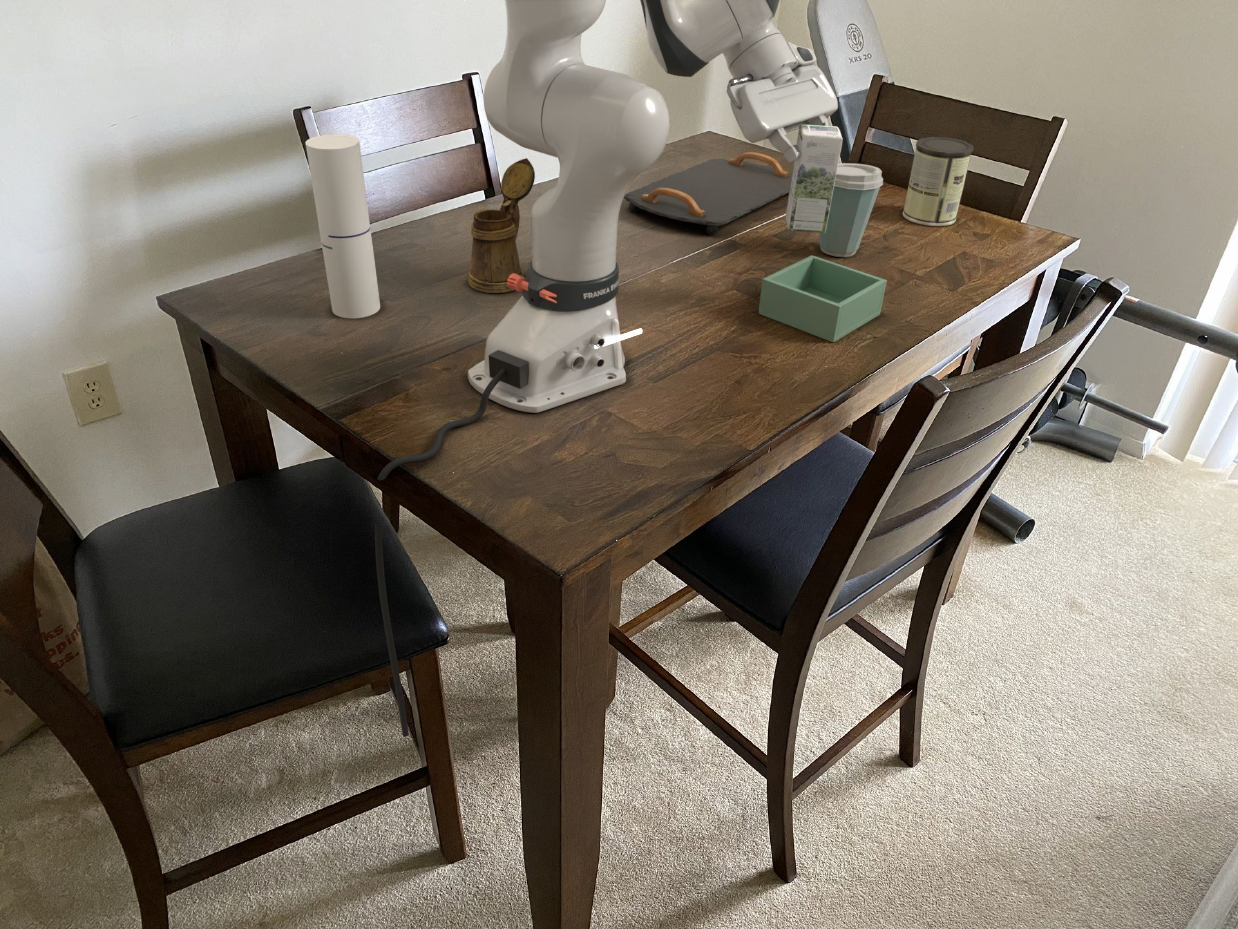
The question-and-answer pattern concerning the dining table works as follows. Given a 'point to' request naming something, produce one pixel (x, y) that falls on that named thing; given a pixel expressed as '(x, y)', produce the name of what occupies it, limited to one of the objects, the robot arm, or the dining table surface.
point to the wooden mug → (500, 233)
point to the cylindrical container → (344, 224)
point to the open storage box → (822, 297)
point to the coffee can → (937, 181)
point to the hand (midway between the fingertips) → (812, 153)
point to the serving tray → (714, 191)
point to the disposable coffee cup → (850, 208)
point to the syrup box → (813, 178)
